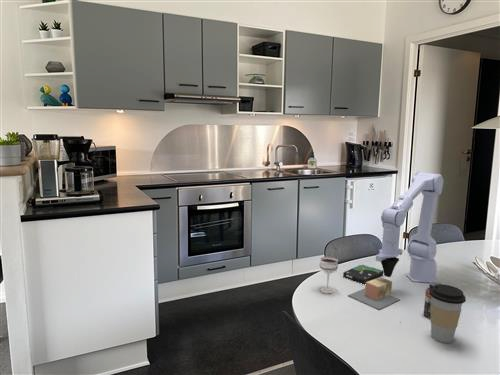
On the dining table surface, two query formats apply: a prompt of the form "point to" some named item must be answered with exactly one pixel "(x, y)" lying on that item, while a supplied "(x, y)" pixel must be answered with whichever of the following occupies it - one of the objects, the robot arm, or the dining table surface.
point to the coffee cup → (445, 311)
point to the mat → (371, 302)
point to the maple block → (378, 288)
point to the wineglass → (328, 270)
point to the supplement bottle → (428, 300)
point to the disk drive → (363, 274)
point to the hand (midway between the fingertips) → (387, 276)
